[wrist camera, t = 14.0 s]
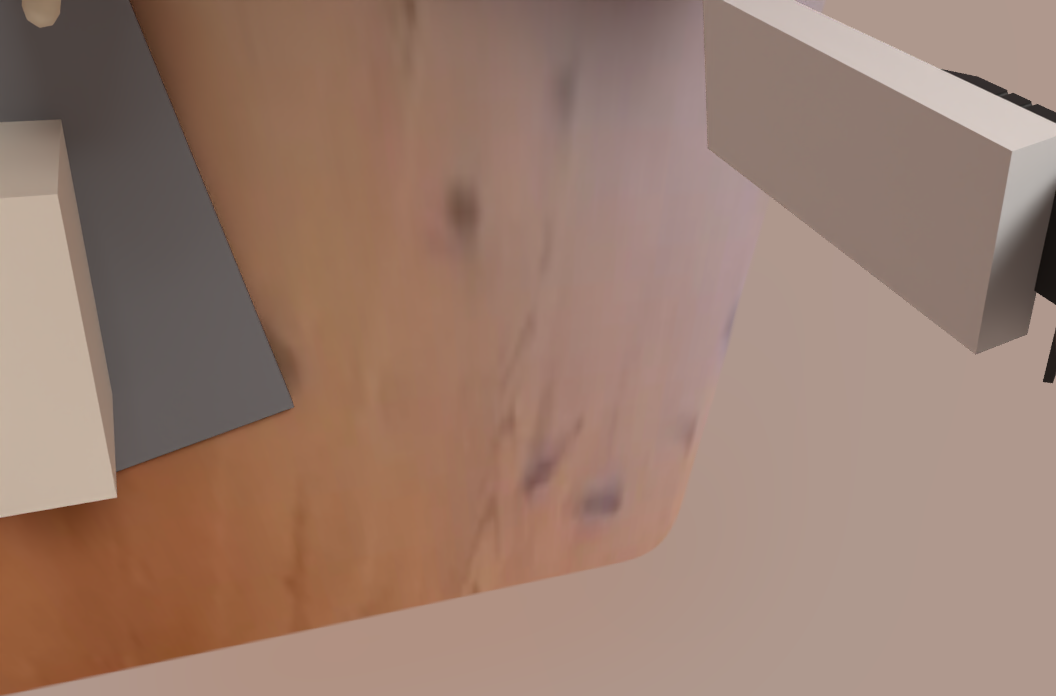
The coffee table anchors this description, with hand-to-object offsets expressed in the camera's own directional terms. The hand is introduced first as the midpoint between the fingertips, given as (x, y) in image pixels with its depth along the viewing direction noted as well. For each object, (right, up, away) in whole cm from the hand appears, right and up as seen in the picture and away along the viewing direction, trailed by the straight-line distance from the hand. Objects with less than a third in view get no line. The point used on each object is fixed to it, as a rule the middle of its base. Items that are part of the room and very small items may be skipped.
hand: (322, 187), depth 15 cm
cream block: (-20, +1, +29) cm, 35 cm away
